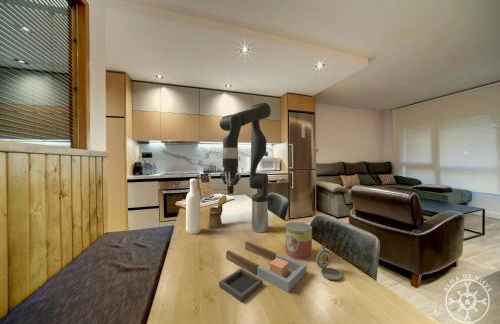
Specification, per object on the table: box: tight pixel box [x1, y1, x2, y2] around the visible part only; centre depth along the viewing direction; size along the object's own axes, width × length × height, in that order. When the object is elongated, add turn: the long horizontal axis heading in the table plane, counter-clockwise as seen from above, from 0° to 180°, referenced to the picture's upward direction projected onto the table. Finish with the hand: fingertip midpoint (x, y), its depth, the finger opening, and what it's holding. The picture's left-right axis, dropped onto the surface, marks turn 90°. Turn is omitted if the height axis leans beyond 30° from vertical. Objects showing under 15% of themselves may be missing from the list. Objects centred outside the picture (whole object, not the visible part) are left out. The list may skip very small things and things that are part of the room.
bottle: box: [185, 178, 201, 235], centre depth 105 cm, size 8×8×30 cm
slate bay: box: [256, 253, 308, 293], centre depth 66 cm, size 13×12×3 cm
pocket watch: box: [315, 242, 343, 281], centre depth 67 cm, size 8×8×10 cm
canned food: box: [284, 221, 313, 261], centre depth 81 cm, size 11×11×12 cm
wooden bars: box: [225, 241, 277, 276], centre depth 76 cm, size 13×16×3 cm
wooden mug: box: [207, 194, 227, 230], centre depth 116 cm, size 9×14×18 cm, turn 143°
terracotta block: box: [269, 258, 290, 278], centre depth 67 cm, size 5×5×4 cm
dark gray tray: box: [218, 268, 264, 303], centre depth 60 cm, size 10×10×2 cm
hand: (230, 193), depth 89 cm, fingers closed
